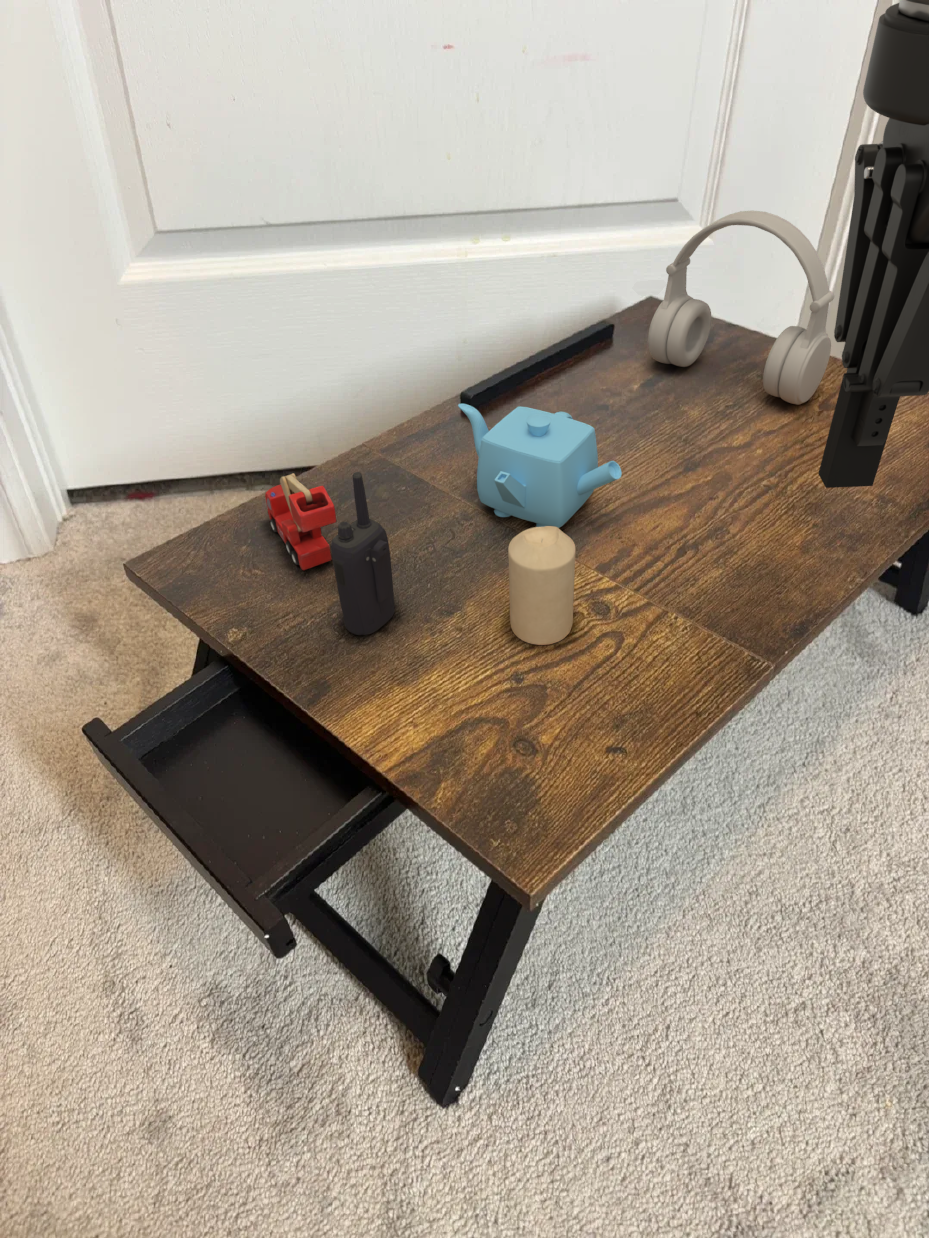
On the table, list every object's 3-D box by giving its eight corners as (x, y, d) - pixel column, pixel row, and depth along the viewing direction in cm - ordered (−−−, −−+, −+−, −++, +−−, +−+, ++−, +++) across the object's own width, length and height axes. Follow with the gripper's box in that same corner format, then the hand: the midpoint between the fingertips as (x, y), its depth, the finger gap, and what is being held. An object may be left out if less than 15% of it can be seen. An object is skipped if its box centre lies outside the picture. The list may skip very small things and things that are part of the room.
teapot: (642, 499, 95) (651, 412, 89) (578, 575, 87) (583, 485, 80) (492, 453, 103) (490, 369, 96) (420, 518, 94) (413, 432, 88)
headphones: (824, 389, 110) (865, 223, 98) (792, 418, 106) (831, 248, 93) (676, 345, 120) (695, 188, 107) (641, 370, 116) (657, 209, 103)
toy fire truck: (297, 511, 96) (281, 430, 90) (348, 585, 87) (334, 500, 81) (266, 521, 95) (248, 439, 89) (315, 597, 86) (298, 512, 80)
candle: (553, 596, 85) (554, 506, 78) (584, 632, 81) (588, 541, 74) (499, 615, 83) (496, 526, 76) (528, 653, 79) (528, 562, 73)
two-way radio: (376, 596, 86) (357, 457, 76) (414, 614, 84) (399, 474, 74) (336, 630, 83) (310, 490, 72) (374, 650, 81) (353, 508, 70)
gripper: (839, -18, 44) (754, 425, 59) (950, 41, 34) (813, 551, 50) (1000, -26, 43) (872, 420, 59) (1158, 31, 34) (954, 545, 50)
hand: (845, 479), depth 55 cm, fingers closed
